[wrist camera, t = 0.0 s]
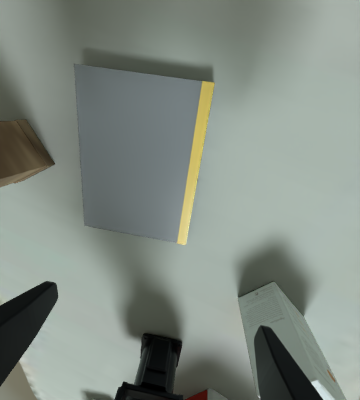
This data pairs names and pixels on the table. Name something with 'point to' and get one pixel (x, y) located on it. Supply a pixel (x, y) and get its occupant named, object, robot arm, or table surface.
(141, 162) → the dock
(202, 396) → the red striped box
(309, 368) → the small box
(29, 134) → the brown block
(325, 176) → the table surface
